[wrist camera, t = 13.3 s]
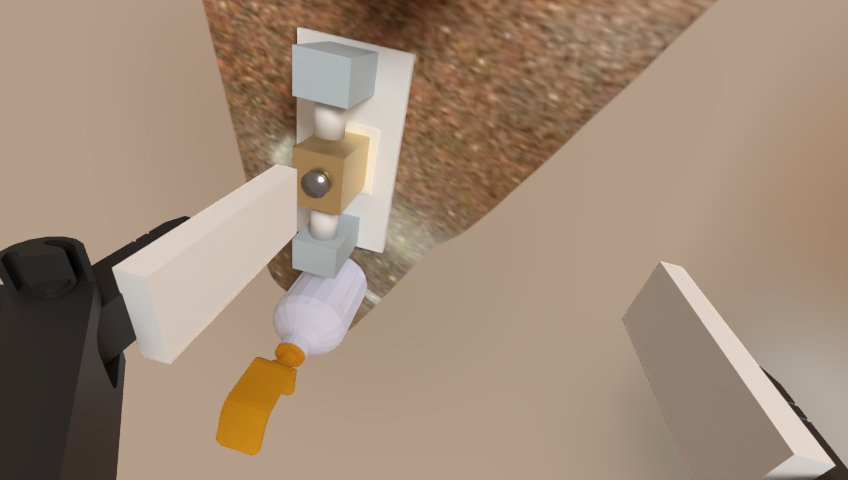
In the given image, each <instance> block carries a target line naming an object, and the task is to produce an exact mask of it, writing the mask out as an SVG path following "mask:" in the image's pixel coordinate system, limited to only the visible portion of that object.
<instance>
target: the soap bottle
mask: <svg viewBox="0 0 848 480" xmlns="http://www.w3.org/2000/svg"><path fill="white" fill-rule="evenodd" d="M366 289H367V281H366V276H365V274H364V273H363V271H362V269H361V268H360V266H358V265H357V264H356V263H355V262H354V261H353V260H351V259H349V258H348V259H347V260H346V262H345V263H344V265H343V267H342V268H341V270H340V271H339V273H338V274H337V276H336V277H335V279H331V278H327V277H324V276H320V275H316V274H312V273H309V272H305V271H303V272H302V274H301V275H300V276H299V277H298V279H297V280H296V281H295V282H294V284H293V285H292V286H291V288H290V289H289V290H288V291H287V293H286V294H285V295H284V297H283V298H282V299H281V300H280V302H279V303H278V305H277V306H276V308H275V312H274V318H273V324H274V327H275V329H276V332H277V334H278V335H279V337H280V338H281V340H282V341H281V343H280V344H279V346H278V347H277V348H276V351H275V355H276V357H277V360H273V361H270V360H267V359H264V358H261V357H256V358H255V359H254V360H253V362H252V363H251V364H250V366H249V367H248V369H247V370H246V371H245V373H244V374H243V375H242V377H241V378H240V380H239V381H238V382H237V384H236V385H235V386H234V388H233V389H232V391H231V392H230V394H229V395H228V397H227V398H226V401H225V402H224V405H223V407H222V410H221V414H220V419H219V425H218V430H217V435H216V440H217V442H218V443H219V444H220V445H222V446H225V447H227V448H231V449H234V450H237V451H240V452H243V453H246V454H249V455H256V454H257V453H258V452H259V451H260V448H261V444H262V440H263V436H264V432H265V428H266V424H267V421H268V418H269V415H270V413H271V411H272V409H273V407H274V405H275V404H276V402H277V400H278V399H279V397H280V395H281V393H282V394H285V395H291V394H293V392H294V389H295V381H296V372H297V371H296V369H294V368H292V367H298V366H300V365H301V364H302V363H303V361H304V359H305V358H306V356H307V354H310V355H313V354H325V353H327V352H329V351H332V350H333V349H334V348H335V347H337V346H338V345H339V344H340V343H341V341H342V340H343V339H344V337H345V334H346V332H347V330H348V328H349V326H350V324H351V322H352V320H353V318H354V316H355V314H356V312H357V310H358V308H359V306H360V304H361V302H362V300H363V298H364V296H365V293H366Z"/></svg>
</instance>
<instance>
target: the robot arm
mask: <svg viewBox="0 0 848 480" xmlns="http://www.w3.org/2000/svg"><path fill="white" fill-rule="evenodd" d="M296 233H297V169H294V168H291V167H287V166H283V165H279V164H276V165H275V166H273V167H271V168H270V169H268V170H267V171H265V172H263V173H262V174H260V175H259V176H257V177H255V178H254V179H252V180H251V181H249V182H248V183H246V184H244V185H243V186H241V187H240V188H238V189H236V190H235V191H233V192H232V193H230V194H228V195H227V196H225V197H224V198H222V199H220V200H219V201H217V202H216V203H214V204H213V205H211V206H209V207H208V208H206V209H205V210H203V211H202V212H200V213H198V214H197V215H195V216H193V217H192V218H190V217H187V216H184V217H180V218H178V219H174V220H171V221H168V222H165V223H163V224H162V225H160V226H158V227H156V228H155V229H153V230H151V231H150V232H149V234H145V235H143V236H141V237H140V238H138V239H137V240H136V242H131V243H129V244H128V245H126V246H124V247H123V248H121V249H119V250H117V251H116V252H114V253H112V254H111V255H109V256H107V257H106V258H104V259H102V260H101V261H99V262H97V263H96V264H94V265H92V266H91V263H90V261H89V258H88V256H87V253H86V250H85V247H84V244H83V243H81V242H80V241H78V240H77V239H73V238H68V237H43V238H37V239H31V240H27V241H24V242H21V243H18V244H14V245H12V246H10V247H8V248H6V249H4V250H2V251H0V278H1V280H2V282H3V283H4V285H0V480H116V476H117V462H118V450H119V437H120V425H121V412H122V399H123V386H124V373H125V361H126V360H125V357H124V353H123V350H124V349H125V348H127V347H128V346H129V345H130V344H131V343H133V342H134V341H135V340H136V342H137V345H138V348H139V351H140V354H141V356H142V357H146V358H149V359H153V360H156V361H160V362H163V363H167V364H171V363H172V362H173V361H174V360H175V359H176V358H177V357H178V356H179V355H180V354H181V353H182V352H183V351H184V350H185V349H186V348H187V347H188V345H190V343H191V342H192V341H193V340H194V339H195V338H196V337H197V336H198V335H199V334H200V333H201V332H202V331H203V330H204V329H205V328H206V327H207V326H208V325H209V324H210V323H211V322H212V321H213V320H214V319H215V318H216V316H217V315H218V314H219V313H220V312H221V311H222V310H223V309H224V308H225V307H226V306H227V305H228V304H229V303H230V302H231V301H232V300H233V299H234V298H235V297H236V296H237V295H238V293H240V292H241V291H242V289H243V288H244V287H245V286H246V285H247V284H248V283H249V282H250V281H251V280H252V279H253V278H254V277H255V276H256V275H257V274H258V273H259V272H260V270H262V269H263V268H264V267H265V266H266V265H267V264H268V263H269V261H270V260H271V259H272V258H273V257H274V256H275V255H276V254H277V253H278V252H279V251H280V250H281V249H282V248H283V247H284V246H285V245H286V244H287V243H288V242H289V241H290V240H291V239H292V238H293V237H294V236H295V235H296ZM622 320H623V322H624V325H625V327H626V329H627V332H628V334H629V336H630V339H631V341H632V343H633V346H634V348H635V350H636V353H637V355H638V357H639V359H640V362H641V364H642V367H643V369H644V371H645V373H646V376H647V378H648V381H649V383H650V385H651V387H652V390H653V392H654V394H655V397H656V399H657V402H658V404H659V406H660V409H661V411H662V413H663V416H664V418H665V420H666V422H667V425H668V427H669V429H670V432H671V434H672V436H673V439H674V441H675V443H676V446H677V448H678V450H679V453H680V455H681V457H682V460H683V462H684V464H685V467H686V469H687V471H688V474H689V476H690V478H691V480H848V469H847V468H846V466H845V465H844V464H843V463H842V461H841V460H840V459H839V457H838V456H837V455H836V454H835V452H834V451H833V450H832V449H831V447H830V446H829V445H828V444H827V442H826V441H825V440H824V439H823V437H822V436H821V435H820V433H819V432H818V431H817V430H816V429H815V427H814V426H813V425H812V423H810V422H808V421H807V417H806V416H805V415H804V413H803V412H802V411H801V410H800V408H799V407H798V406H795V402H794V401H793V400H792V398H791V397H790V396H789V394H788V393H787V392H786V391H785V389H784V388H783V387H782V386H781V384H780V383H778V382H777V381H776V380H775V379H774V378H773V377H772V376H771V375H769V374H768V373H767V372H766V371H765V370H764V369H763V368H761V367H760V366H758V364H757V363H756V362H755V360H754V359H753V358H752V356H751V355H750V354H749V353H748V351H747V350H746V349H745V347H744V346H743V345H742V344H741V342H740V341H739V340H738V338H737V337H736V336H735V334H734V333H733V332H732V331H731V329H730V328H729V327H728V325H727V324H726V323H725V322H724V320H723V319H722V318H721V316H720V315H719V314H718V313H717V311H716V310H715V309H714V307H713V306H712V305H711V304H710V302H709V301H708V300H707V298H706V297H705V296H704V294H703V293H702V292H701V291H700V289H699V288H698V287H697V285H696V284H695V283H694V281H693V280H692V279H691V278H690V276H689V275H688V274H687V272H686V271H685V270H684V269H683V267H681V266H677V265H673V264H668V263H665V262H661V261H660V262H659V264H658V265H657V267H656V268H655V270H654V271H653V273H652V274H651V276H650V277H649V279H648V280H647V282H646V283H645V285H644V286H643V288H642V289H641V291H640V292H639V294H638V295H637V297H636V298H635V300H634V301H633V303H632V304H631V306H630V307H629V309H628V310H627V312H626V313H625V315H624V316H623V318H622Z"/></svg>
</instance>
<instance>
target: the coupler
mask: <svg viewBox="0 0 848 480" xmlns="http://www.w3.org/2000/svg"><path fill="white" fill-rule="evenodd" d="M369 141H370V137H367V136H363V135H359V134H355V133H351V132H347V131H345V138H344V139H341V140H326V139H322V138H319V137H316V136H315V135H312V136H310V137H309V138H307V139H305V140H303V141H302V142H300V143H298V144H297V145H295V146H293V168H294V169H297V205H299V206H303V207H307V208H311V209H315V210H319V211H323V212H327V213H331V214H335V215H338V216H340V215H341V214H342V213H343V212H344V210H345V209H346V208H347V207H348V206H349V204H350V203H351V202H352V201H353V200H354V198H355V197H356V196H357V195H358V193H359V192H360V191H361V190H362V189H363V187H364V186H365V177H366V168H367V159H368V150H369Z"/></svg>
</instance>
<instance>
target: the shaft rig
mask: <svg viewBox="0 0 848 480" xmlns="http://www.w3.org/2000/svg"><path fill="white" fill-rule="evenodd" d="M415 56H416V54H413V53H408V52H404V51H400V50H396V49H391V48H387V47H383V46H379V45H374V44H370V43H366V42H362V41H357V40H353V39H349V38H345V37H340V36H336V35H332V34H328V33H323V32H319V31H315V30H311V29H306V28H302V27H297V44H292V96H296V97H297V144H298V143H300V142H302V141H303V140H305V139H307V138H309V137H310V136H312V135H315V136H316V137H319V138H322V139H326V140H341V139H344V138H345V131H347V132H351V133H355V134H359V135H363V136H367V137H370V141H369V150H368V159H367V168H366V177H365V186H364V187H363V189H362V190H361V191H360V192H359V193H358V195H357V196H356V197H355V198H354V200H353V201H352V202H351V203H350V204H349V206H348V207H347V208H346V209H345V210H344V212H343V213H342V214H341V215H340V216H338V215H335V214H331V213H327V212H323V211H319V210H315V209H311V208H307V207H303V206H299V205H297V231H299V233H298V234H297V235H296V236H295V237H294V238H293V239H292V268H294V269H297V270H301V271H305V272H309V273H312V274H316V275H320V276H324V277H327V278H331V279H335V277H336V276H337V274H338V273H339V271H340V270H341V268H342V267H343V265H344V263H345V262H346V260H347V259H348V257H349V256H350V254H351V252H352V251H353V249H354V248H355V246H356V247H360V248H364V249H368V250H371V251H375V252H379V253H383V251H384V247H385V241H386V235H387V228H388V222H389V216H390V210H391V204H392V198H393V191H394V185H395V179H396V173H397V167H398V161H399V154H400V148H401V142H402V136H403V130H404V124H405V117H406V111H407V105H408V99H409V93H410V86H411V80H412V74H413V68H414V62H415Z"/></svg>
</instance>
